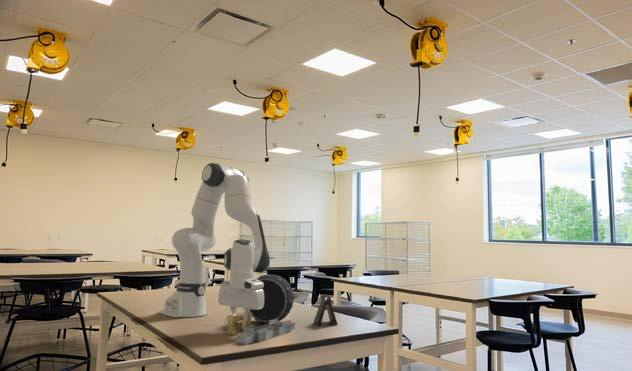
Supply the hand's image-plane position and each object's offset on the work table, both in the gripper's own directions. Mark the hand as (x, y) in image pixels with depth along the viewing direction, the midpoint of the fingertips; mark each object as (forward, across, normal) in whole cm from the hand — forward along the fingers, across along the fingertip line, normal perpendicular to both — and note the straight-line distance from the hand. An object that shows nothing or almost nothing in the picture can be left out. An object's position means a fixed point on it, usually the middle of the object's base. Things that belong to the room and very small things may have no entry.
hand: (239, 319), depth 161 cm
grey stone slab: (+5, +12, +2) cm, 13 cm away
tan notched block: (+5, 0, 0) cm, 5 cm away
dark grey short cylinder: (+5, -1, +20) cm, 21 cm away
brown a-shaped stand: (+5, +19, +33) cm, 38 cm away
